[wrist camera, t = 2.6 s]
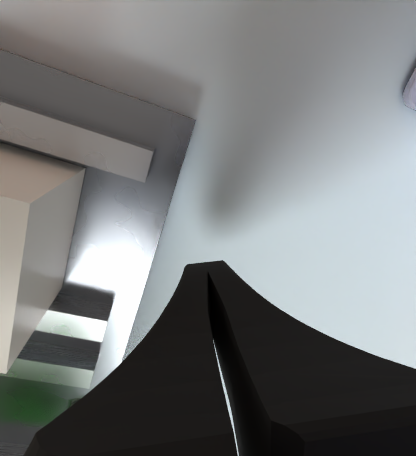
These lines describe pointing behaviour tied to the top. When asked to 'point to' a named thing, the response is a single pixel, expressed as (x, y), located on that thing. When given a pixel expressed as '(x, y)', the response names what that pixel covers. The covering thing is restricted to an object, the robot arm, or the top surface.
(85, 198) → the breaker panel
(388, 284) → the top surface
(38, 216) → the toggle
